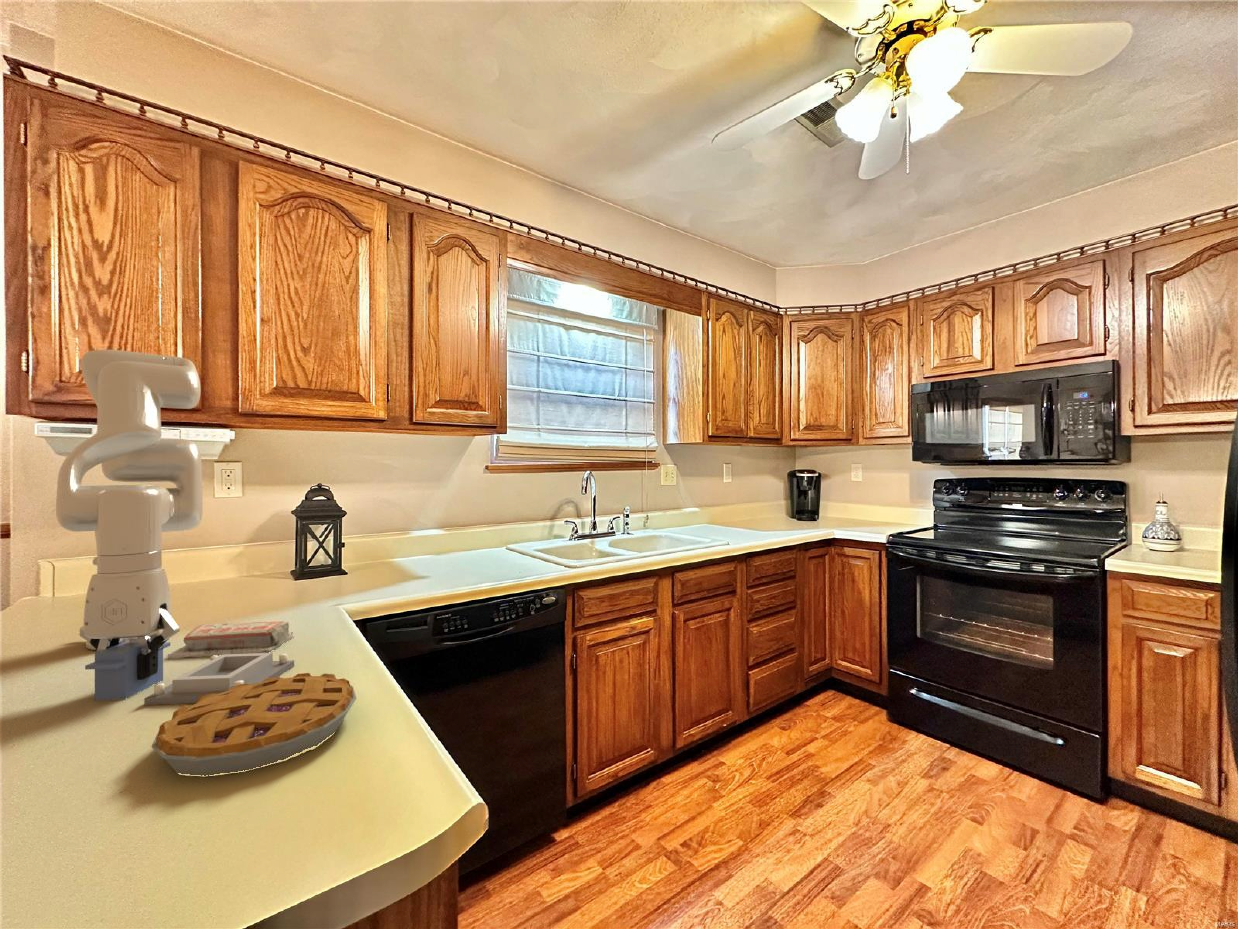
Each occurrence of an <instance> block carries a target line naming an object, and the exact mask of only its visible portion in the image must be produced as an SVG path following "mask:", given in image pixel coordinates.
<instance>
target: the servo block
mask: <svg viewBox="0 0 1238 929" xmlns="http://www.w3.org/2000/svg"><path fill="white" fill-rule="evenodd" d="M149 642H151V639H150V638H149ZM170 646H171V642H167V641H166V642H165V643H164V644H163V646H162V648H160V649H158V671H157V673H156V674H154V675H152V676H150V677H147V678H145V679H143V680H138V679H137V655H140V654H142V653H141V650H140V646H139V643H138V639H137V638H129V641H127V642H124V643H121V644H119V645H116V646H113V647H110V648H108V649H105V650H102V651H100V652H97V651H96V652H95V653H94V662H91V663H88V664H86V665H84V666H85V667H84V670H94V701H110V700H112V699H117V700H127V699H129V698H131V697H133V696H135V695H137V694H139V693H141V692H143V691H145V690H147V689H149V688H151V687H153V686H154V685H153V684H155V685H156V684H159V683H161V682H164V649H166V648H169V647H170ZM160 681H161V682H160ZM158 682H159V683H158ZM152 685H153V686H152ZM150 686H151V687H150ZM146 688H147V689H146ZM144 689H145V690H144ZM140 691H141V692H140ZM138 692H139V693H138ZM132 695H133V696H132ZM130 696H131V697H130ZM126 698H127V699H126ZM112 701H113V700H112Z"/></svg>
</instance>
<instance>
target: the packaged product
mask: <svg viewBox="0 0 1238 929" xmlns="http://www.w3.org/2000/svg"><path fill="white" fill-rule="evenodd" d="M289 627H290V624H289V622H288V621H284V620H283V621H258V622H255V621H252V622H230V623H226V622H225V623H206V624H199V625H197V626H196V627H194V629H193V630H191V631H190V632H188V633H187V634H186V635H185V636H184V637H183V643H184V644H185V645H184V646H182V647H180V648H177V649H176V650H174V651H172V652H171V653H168V654H167V658H168V659H182V658H183V659H184V657H185V658H201V657H202V656H210V657H212V656H213V655H223V654H252V653H269V652H271V651H272V650H274V651H275V650H277V649H279V648H280V647H282V646H283V645H284V644H283V643H285V644H286V642H287V641H288V642H290V641H291V640H293V639H294V638H295V635H294V633H293V631H292V632H290V629H289ZM292 638H293V639H292ZM289 640H290V641H289ZM288 642H287V643H288ZM282 644H283V645H282ZM281 645H282V646H281ZM278 647H279V648H278ZM276 648H277V649H276ZM272 652H273V651H272ZM272 652H271V653H272ZM202 658H203V657H202Z"/></svg>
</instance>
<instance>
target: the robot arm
mask: <svg viewBox="0 0 1238 929" xmlns="http://www.w3.org/2000/svg"><path fill="white" fill-rule="evenodd" d="M80 366H81V374H82V378H83V380H84V383H85V386H86V387H87V388H86V389H87V390H88V393H89V394H90V396H91V398H92V399H93V401H94V404H95V405H96V407H97V419H96V423H97V425H96V433H95V434H94V435H92V436H91V437H89V438H87V439H86V440H84V441H82V442H81V443H80V444H78V445H77V446H76V447H75V448H74V449H73V450H72V451H71V452H70V453H68V455H67V456H66V457H65V459H64V460H63V462H62V464H61V466H60V468H59V471H58V474H57V488H56V497H55V498H56V499H55V515H56V520H57V522H58V523H59V525H60V526H61V527H62V528H63V529H65V530H67V531H69V532H78V533H79V532H94V535H95V544H96V557H94V558H93V559H92V564H93V566H96V574H93V575H91V577H90V580H89V582H88V587H87V592H86V597H85V602H84V611H83V626H81V627H80V628H79V631H78V632H79V636H80V637H81V638H82V639H84V640H85V641H86V642H85V647H86V648H87V649H89V650H92V651H93V650H96V653H97V652H100V651H102V650H105V649H108V648H110V647H113V646H116V645H119V644H121V643H124V642H127V641H129V638H137V639H138V643H139V646H140V650H141V653H142V654H140V655H137V679H138V680H143V679H145V678H147V677H150V676H152V675H154V674H156V673H157V671H158V649H160V648H162V646H163V644H164V643H165V642H167V641H169V639H170V638H172V637H174V636H175V635H176V634H177V633H179V632H180V630H181V628H180V626H179V625H178V623H176V621H175V620H174V618H173V617H172V600H171V592H170V586H169V580H168V577H167V576H168V575H167V572H166V569H163V568H162V559H163V558H162V556H163V555H162V551H163V550H162V548H163V547H162V546H163V545H162V540H163V539H162V536H163V533H169V532H170V533H171V532H181V531H183V532H184V531H190V530H194V529H196V528H197V527H198V526H199V525H200V524H201V522H202V518H203V508H204V507H203V506H204V505H203V504H204V503H203V502H204V501H203V464H202V455H201V451H200V448H199V446H198V444H196V442H194V441H192V440H189V439H186V438H185V439H184V438H170V437H169V438H168V437H167V438H165V437H164V438H162V416H161V414H162V413H161V408H164V409H165V408H167V409H183V410H184V409H186V410H187V409H188V410H190V409H193V408H195V407H196V406H197V405H198V404H199V403H200V398H201V390H202V389H201V380H200V377H199V373H198V371H197V368H196V365H195V364H194V362H192V360H190V359H188V358H185V357H180V356H175V355H174V356H173V355H163V354H155V353H145V352H137V351H130V350H129V351H128V350H122V349H121V350H119V349H96V350H95V349H94V350H90V351H87V352H86V353H84V354H83V355H82V358H81V361H80ZM100 464H101V470H102V474H103V476H104V477H105V478H106V479H107V480H110V481H113V482H120V483H122V482H123V483H162V482H163V483H165V482H166V483H173V484H174V485H175V487H163V486H161V485H154V484H134V485H132V484H131V485H130V484H129V485H128V484H124V485H123V484H121V485H119V484H117V485H116V484H115V485H114V484H113V485H110V484H109V485H82V482H83V478H84V476H85V475H86V473H87V472H89V471H90V470H91V469H93V468H94V467H96V466H98V465H100ZM149 638H150V639H151V642H149Z"/></svg>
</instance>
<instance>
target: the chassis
mask: <svg viewBox="0 0 1238 929" xmlns="http://www.w3.org/2000/svg"><path fill="white" fill-rule="evenodd" d="M273 655H274V654H273V652H271V653H252V654H223V655H221V656H210V658H209V661H207V662H205V663H203V664H201V665H199V666H197V667H195V668H193V669H191V670H189V671H187V672H185V673H183V674H181V675H179V676H177V677H175V678H173V679H172V681H171V682H172V683H171V684H169V685H165V683H164V682H159V683H157V684H155V685H153V689H154V690H153V693H152V694H150V695H148V696H146V697H144V699H143V700H144V701H143V702H144V706H153V705H176V704H179V705H180V704H181V705H183V704H196V703H197V701H198V698H199V697H201V696H205V695H209V694H219V693H222V692H225V691H228V690H229V689H230V688H231V687H232V686H236V685H240V684H243V683H246V684H249V685H250V684H255V683H260V682H262V681H264V680H265V679H269V678H276V677H278V676H279V677H280V676H282V675H283V674H285V673H286V672H287V671H289V670H290V668H291V667H292V668H294V667H295V660H288V653H281V654H279V655H278V660H273V659H274V658H273ZM292 668H291V669H292ZM285 671H286V672H285ZM284 672H285V673H284ZM281 674H282V675H281ZM165 686H166V687H165Z"/></svg>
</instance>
